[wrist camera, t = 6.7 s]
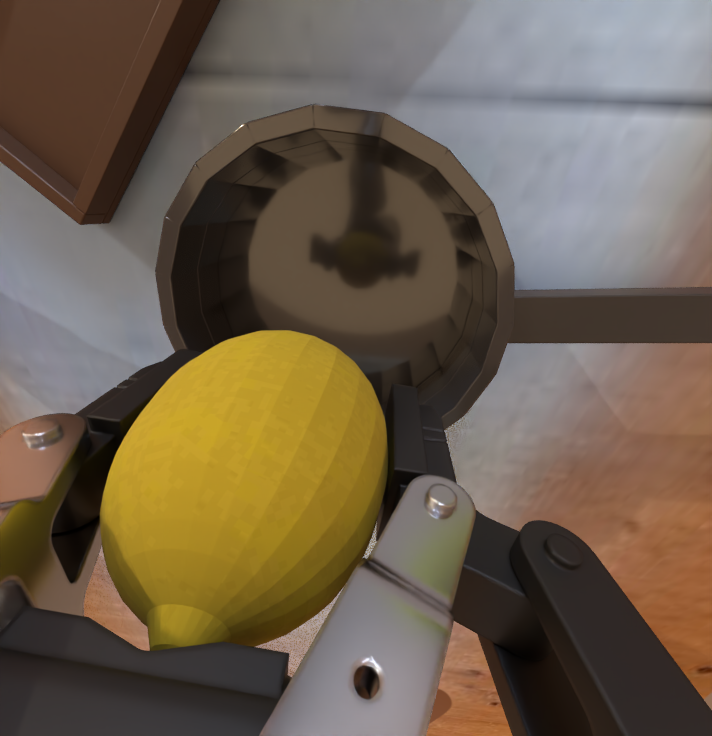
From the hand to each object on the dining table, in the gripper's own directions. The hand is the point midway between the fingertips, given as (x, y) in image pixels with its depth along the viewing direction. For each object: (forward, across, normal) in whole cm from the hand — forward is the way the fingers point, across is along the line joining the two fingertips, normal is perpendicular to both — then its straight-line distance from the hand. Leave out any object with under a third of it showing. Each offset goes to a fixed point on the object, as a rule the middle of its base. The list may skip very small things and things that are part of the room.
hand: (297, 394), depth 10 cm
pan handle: (+9, -14, -2) cm, 17 cm away
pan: (+12, 0, 0) cm, 12 cm away
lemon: (+1, 0, 0) cm, 1 cm away
